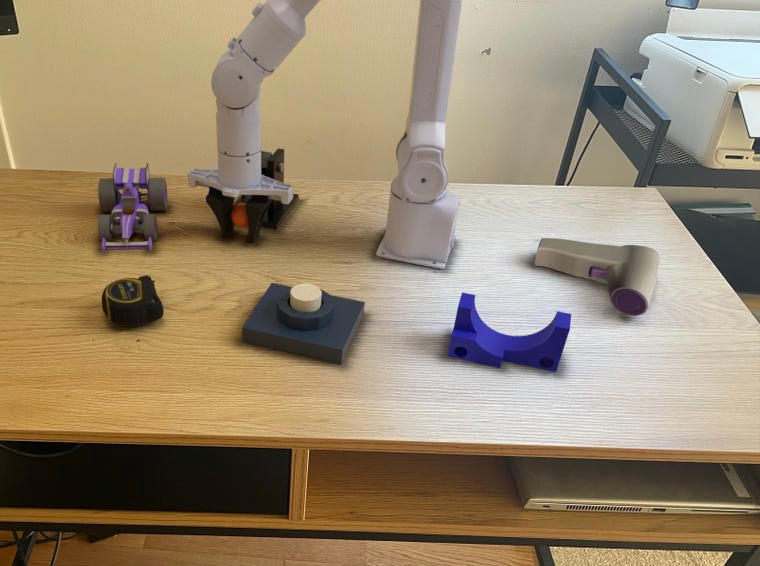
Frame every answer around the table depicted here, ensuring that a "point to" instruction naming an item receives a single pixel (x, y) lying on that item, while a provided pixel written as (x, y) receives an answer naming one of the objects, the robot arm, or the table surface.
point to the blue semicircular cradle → (506, 340)
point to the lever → (248, 196)
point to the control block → (304, 325)
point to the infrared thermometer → (607, 269)
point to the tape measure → (132, 301)
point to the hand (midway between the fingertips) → (241, 239)
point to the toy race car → (130, 207)
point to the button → (305, 297)
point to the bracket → (276, 208)
